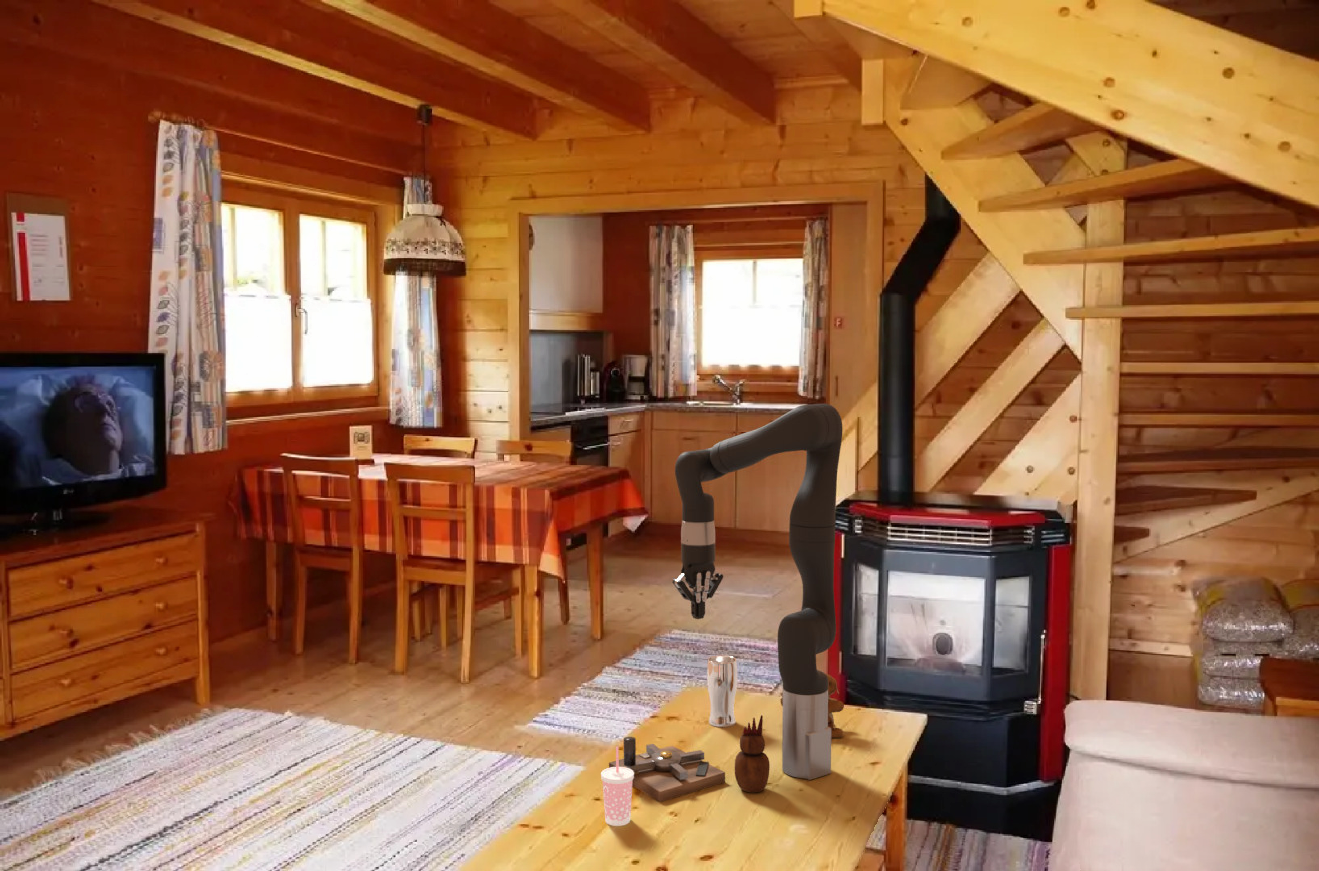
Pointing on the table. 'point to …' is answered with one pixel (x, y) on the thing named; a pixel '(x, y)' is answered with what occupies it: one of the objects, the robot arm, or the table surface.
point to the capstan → (659, 759)
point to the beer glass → (722, 689)
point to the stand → (674, 777)
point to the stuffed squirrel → (831, 707)
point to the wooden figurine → (752, 760)
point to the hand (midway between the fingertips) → (698, 618)
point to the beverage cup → (617, 793)
